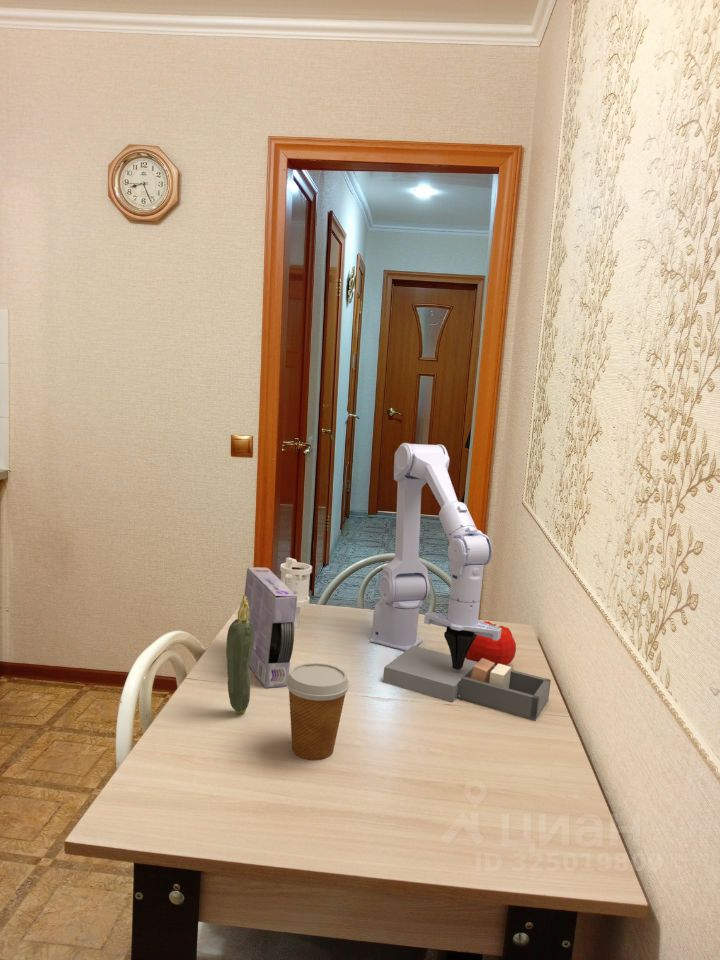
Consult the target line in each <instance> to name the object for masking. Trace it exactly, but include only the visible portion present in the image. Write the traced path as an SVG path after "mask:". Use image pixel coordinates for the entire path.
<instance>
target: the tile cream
mask: <svg viewBox="0 0 720 960" xmlns="http://www.w3.org/2000/svg"><path fill="white" fill-rule="evenodd" d="M511 670H512V666H509V665H507V666H506V665H502V664H497V665H496V667H495V668H494V669H493V670H492V671H491V672H490V681H489V683H490V684H493V685H497V686H501V687H505V688H508V689H509V683H510V674H511Z"/></svg>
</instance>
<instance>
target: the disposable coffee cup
mask: <svg viewBox="0 0 720 960" xmlns="http://www.w3.org/2000/svg"><path fill="white" fill-rule="evenodd" d="M286 684H287V686H286V687H287V689H288V696H289V700H288V701H289V714H290V716H289V717H290V733H291V749H292V752H293V753H294V754H295V755H296V756H298V757H299V758H302V759H306V760H313V761H314V760H315V761H316V760H323V759H327V758H329V757H331V756H332V755H333V753H334V750H335V745H336V740H337V735H338V730H339V726H340V721H341V716H342V711H343V709H344V708H343V707H344V703H345V697H346V694H347V692H348V690H349V688H350V685H351V683H350V681H349V680H348V675H347V672H346V671H345V670H344V669H343V668H341V667H339V666H336V665H332V664H329V663H324V662H307V663H301V664H298V665H296V666H294V667H292V668H291V669H290V670H289V676H288V677H287V679H286Z"/></svg>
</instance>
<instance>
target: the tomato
mask: <svg viewBox="0 0 720 960" xmlns="http://www.w3.org/2000/svg"><path fill="white" fill-rule="evenodd" d="M483 622H484V623H487V624H489V625H492V626H495V627H497V623H494V624H493V623H492V622H490V621H483ZM498 627H499V628H501V637H500V639H499V640H498V641H495V640H492V638H488V637H484V636H480V635H477V637H476V638H475V640H474V641H473V643H472V645H471V646H470V648H469V650H468V652H467V655H466V657H465V659H468V660H472V661H476V662H478V661H480V660H481V659H482V658H484V659H486V660H489V661H491V662H493V663H495V664H494V665H495V666H496V665H497V664H502V665H506V666H509V665H510V664H511V663H512V661H514V658H515V657H516V653H517V643H516V641H515V639H514V636H513V633H512V631H511V629H510V628H509V627H506V626H503V625H499V626H498Z"/></svg>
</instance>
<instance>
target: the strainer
mask: <svg viewBox="0 0 720 960" xmlns="http://www.w3.org/2000/svg"><path fill="white" fill-rule="evenodd" d="M279 568H280V569H279V571H280V572H281V573H280V580H281V581H282V582H283V583H284V584H285V585H286V586H287V587H288V588H289V589H290V590H291V591H292V592H293V593H294V594H295V595H296V596H297V605H296V615H295V622H294V629H296V628H298V627H300V626H299V625H300V614H301V607H305V606H308V605H310V600H311V599H310V596H309V593H310V591H309V590H310V589H309V588H310V579H311V578H310V576H311V574H312V573H313V566H312V565H310V564H308V563H306V562H305V563H304V562H299V561H297V559H295V558H292V557H285V562H282V563H281V564H280V567H279ZM293 568H299V569H293ZM303 576H304V577H303Z"/></svg>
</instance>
